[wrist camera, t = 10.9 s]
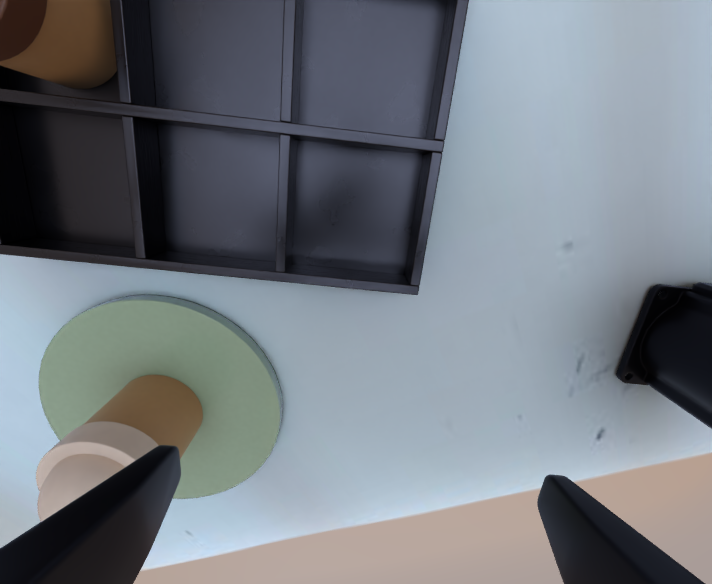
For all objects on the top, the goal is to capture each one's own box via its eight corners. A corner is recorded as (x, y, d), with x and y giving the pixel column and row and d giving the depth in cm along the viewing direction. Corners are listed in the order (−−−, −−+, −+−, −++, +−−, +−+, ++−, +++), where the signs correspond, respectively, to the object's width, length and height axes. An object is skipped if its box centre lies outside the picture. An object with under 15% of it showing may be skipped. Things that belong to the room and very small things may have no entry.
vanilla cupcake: (207, 447, 22) (135, 579, 15) (122, 441, 22) (7, 571, 15) (204, 376, 21) (121, 485, 13) (112, 368, 21) (-23, 474, 13)
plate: (279, 495, 25) (276, 506, 24) (70, 480, 24) (60, 491, 24) (287, 307, 20) (284, 312, 20) (29, 282, 20) (14, 287, 19)
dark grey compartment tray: (410, 281, 20) (418, 295, 18) (37, 244, 19) (-7, 253, 17) (459, -18, 15) (478, -54, 13) (-26, -85, 15) (-100, -137, 12)
